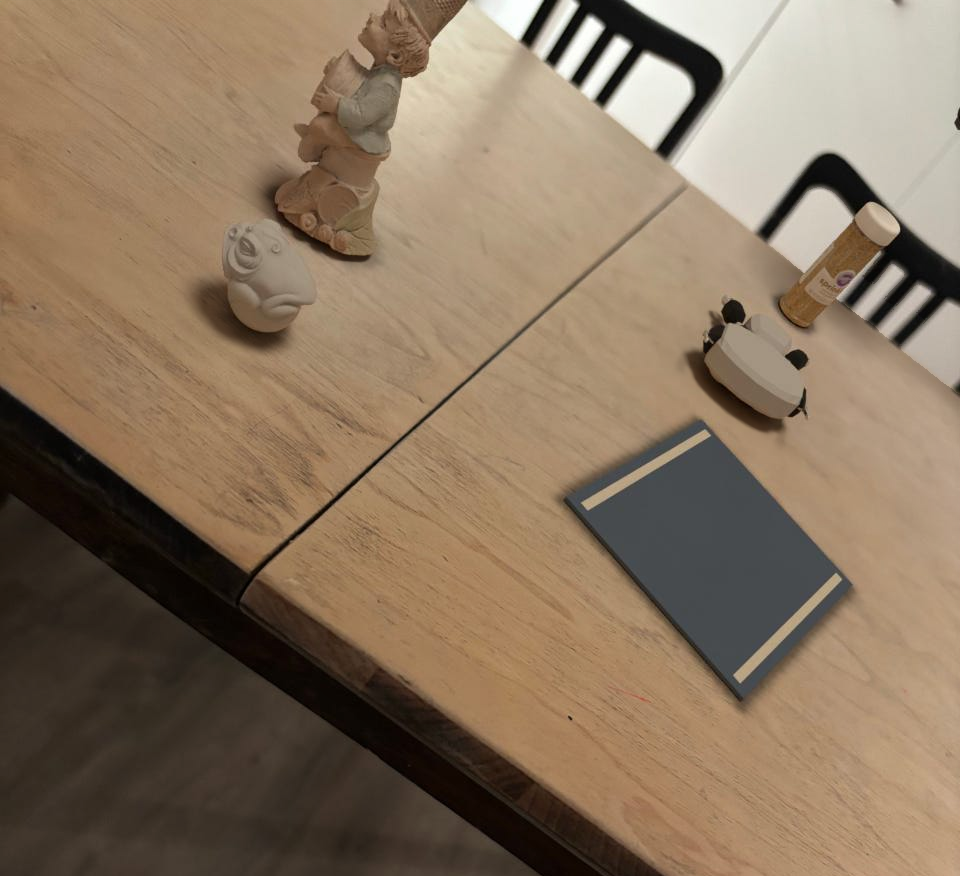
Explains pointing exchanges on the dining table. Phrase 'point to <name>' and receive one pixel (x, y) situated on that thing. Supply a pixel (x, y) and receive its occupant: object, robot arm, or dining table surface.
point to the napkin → (713, 553)
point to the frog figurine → (265, 275)
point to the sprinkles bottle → (840, 264)
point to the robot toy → (756, 362)
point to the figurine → (359, 125)
